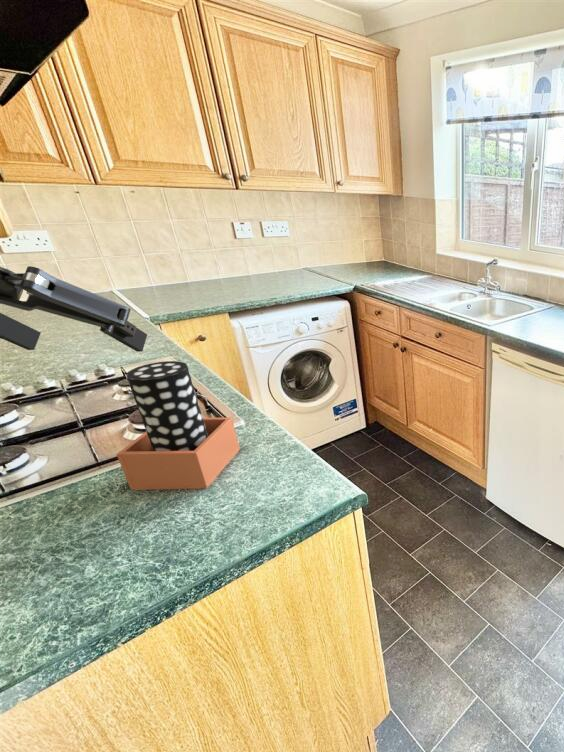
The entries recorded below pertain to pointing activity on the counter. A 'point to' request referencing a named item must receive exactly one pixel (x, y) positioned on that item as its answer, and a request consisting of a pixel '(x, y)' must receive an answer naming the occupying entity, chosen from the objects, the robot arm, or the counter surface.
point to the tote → (180, 460)
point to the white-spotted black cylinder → (168, 405)
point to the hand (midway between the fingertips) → (89, 342)
